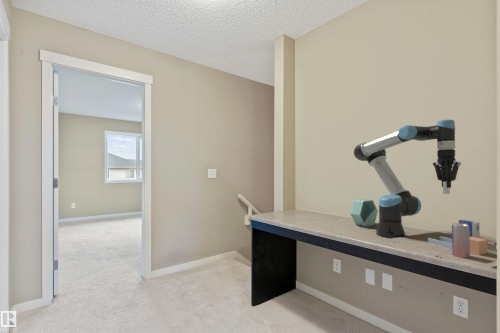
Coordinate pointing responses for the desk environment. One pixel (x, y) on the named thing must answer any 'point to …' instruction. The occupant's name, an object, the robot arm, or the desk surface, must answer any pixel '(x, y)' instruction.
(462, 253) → the beverage can
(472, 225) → the walkman
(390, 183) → the robot arm
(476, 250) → the block
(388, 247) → the desk surface
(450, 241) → the chute
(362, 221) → the teal faceted polyhedron
